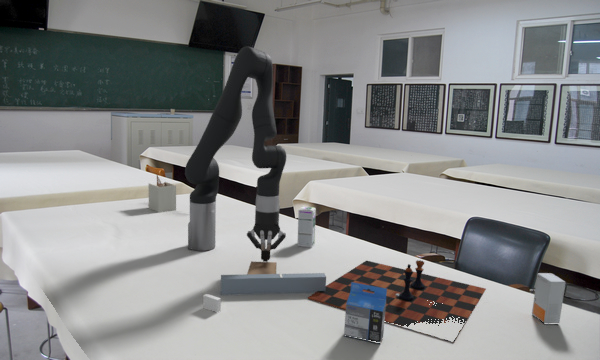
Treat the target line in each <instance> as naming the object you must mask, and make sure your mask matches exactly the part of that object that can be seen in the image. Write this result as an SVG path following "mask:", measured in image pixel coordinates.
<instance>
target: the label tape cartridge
mask: <svg viewBox="0 0 600 360" xmlns="http://www.w3.org/2000/svg"><path fill="white" fill-rule="evenodd" d="M363 289H365V290H367V289H370V291H374V292H375V293H368V292H364V291H363ZM386 294H387V289H386V288H380V287H375V286H370V285H364V284H359V283H354V282H351V292H350V294H349V297H348V300H347V303H346V310H345V314H344V315H345V316H344V329H343V332H344V335H346V336H351V337H357V338H362V339H366V340H371V341H376V342H381V343H382V341H383V339H384V331H385V322H384V320H385V309H386ZM346 336H345V337H346ZM382 338H383V339H382ZM381 340H382V341H381Z"/></svg>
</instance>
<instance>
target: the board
mask: <svg viewBox="0 0 600 360" xmlns="http://www.w3.org/2000/svg"><path fill="white" fill-rule="evenodd" d="M326 286H327V276H326V274H325V272H316V273H315V272H313V273H310V272H309V273H305V272H304V273H303V272H302V273H281V272H280V273H276V274H220V296H234V295H235V296H237V295H238V294H242V295H269V294H272V295H273V294H274V295H275V294H277V295H278V294H304V293H305V294H309V293H311V294H314V293H316V292H317V291H326ZM229 294H230V295H229Z"/></svg>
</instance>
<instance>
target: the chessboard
mask: <svg viewBox="0 0 600 360" xmlns="http://www.w3.org/2000/svg"><path fill="white" fill-rule="evenodd" d="M415 265H416V266H417V267H415V268H414V270H415V271H413V269H412V268H411V266H412V265H411V264H409V263H408V264H407V266H406V268H405V269H404V268H399V267H395V266H391V265H387V264H383V263H378V262H374V261H370V260H365V261H363V262H361V263H360V264H358V265H356V267H354V268H352V269H351V270H348V271H347V272H346V273H344V274H343V275H341V276H339V277H337V278H336V279H335V280H333V281H331V282H330V283H328V284H326V291H317V292H316V293H311V295H309V296H308V297H307V299H308V300H310V301H312V302H316V303H319V302H320V304H323V305H327V306H329V307H332V306H333V308H336V307H337V308H336V309H339V308H340V310H342V309H343V311H346V303H347V300H348V297H349V294H350V292H351V282H354V283H359V284H364V285H370V286H375V287H380V288H386V289H387V294H386V309H385V320H384V321H386V322H389V323H394V324H398V325H401V326H404V325H406V324H407V325H406V326H407V327H408V326H409V325H410V324H411V323H414V325H415V324H416V323H420V322H422V323H423V322H425V321H426V322H428V321H429V322H428V323H429V324H430V323H432V324H433V323H435V324H436V323H438V322H437V321H439V324H440V323H442V322H441V321H443V320H442V319H444V323H446V322H445V321H447V320H450V319H449V317H451V318H452V320H453V319H454V318H455V321H457V320H456V318H458V317H460V318H458V323H459V320H461V321H460V322H463V320H462V319H464V322H463V323H465V321H468V320H469V318H470V317H469V316H471V315H472V313H473V312H472V311H474V309H475V308H476V307H477V305H478V303H479V301H480V299H481V298H482V296H483V295H484V293H486V292H485V291H486V290H487V288H484V287H481V286H476V285H472V284H468V283H463V282H460V281H455V280H451V279H447V278H442V277H438V276H434V275H429V274H427V273H426V274H425V273H423V272H424V268H423V266H424V265H425V261H424V260H421V259H420V260H418V259H417V260H415ZM363 291H364V292H368V293H375V292H374V291H370V289H367V290H365V289H363ZM427 300H428V301H427ZM433 301H434V302H435V304H434V302H433ZM430 302H432V303H430ZM436 303H437V304H436ZM442 303H443V304H442ZM429 304H430V305H429ZM433 304H434V305H433ZM435 305H436V306H435ZM475 306H476V307H475ZM470 314H471V315H470ZM452 316H453V317H454V318H453V317H452ZM468 317H469V318H468ZM446 318H447V320H446ZM428 319H429V320H428ZM431 319H432V320H431ZM435 319H436V320H435ZM438 319H439V320H438ZM467 319H468V320H467ZM417 321H418V322H417ZM431 321H432V322H431ZM434 321H435V322H434ZM415 322H416V323H415ZM448 322H449V321H448ZM452 322H453V321H452ZM389 323H388V324H389ZM454 323H455V322H454ZM426 324H427V323H426ZM460 324H462V323H460ZM465 324H466V323H465ZM438 326H439V325H438Z"/></svg>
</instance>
